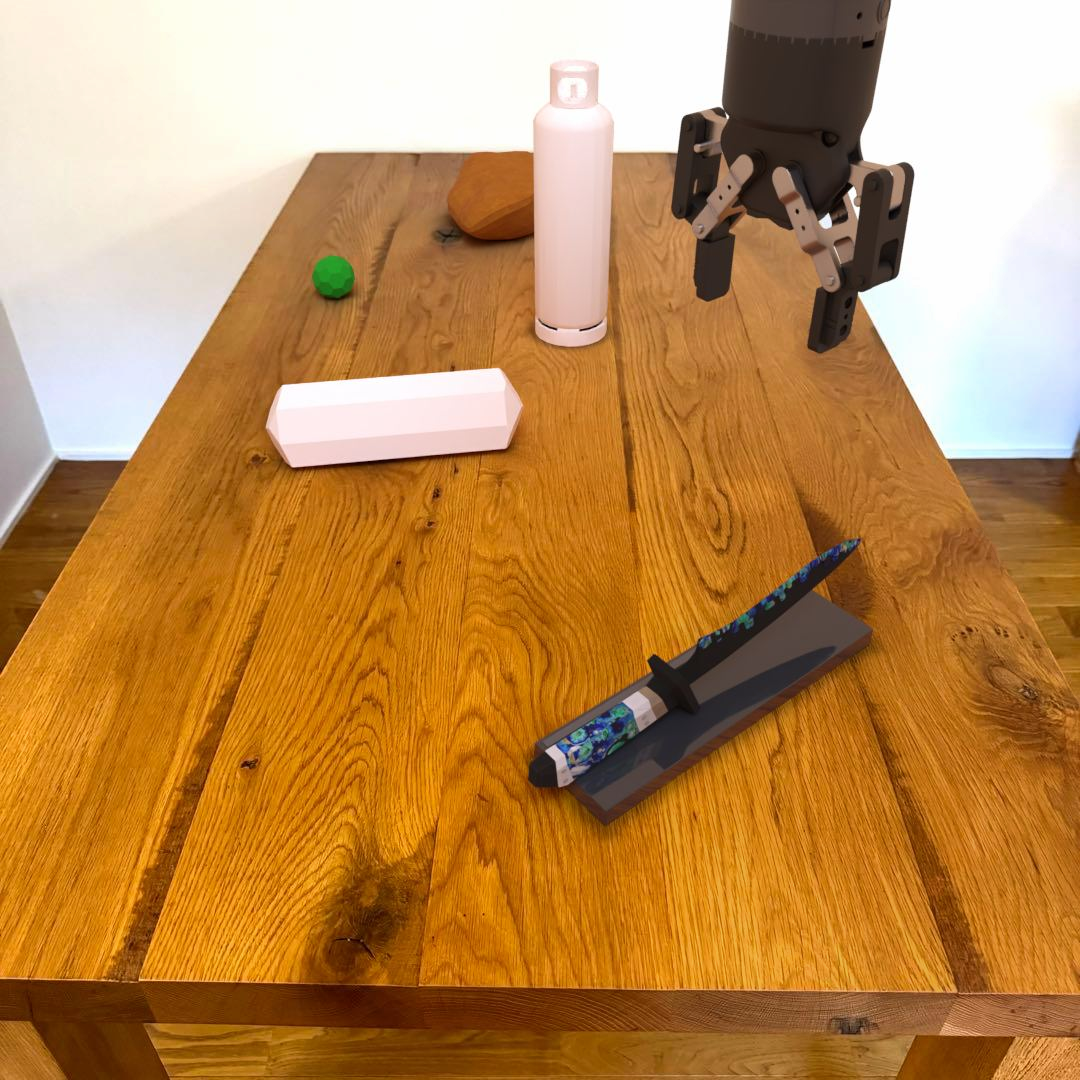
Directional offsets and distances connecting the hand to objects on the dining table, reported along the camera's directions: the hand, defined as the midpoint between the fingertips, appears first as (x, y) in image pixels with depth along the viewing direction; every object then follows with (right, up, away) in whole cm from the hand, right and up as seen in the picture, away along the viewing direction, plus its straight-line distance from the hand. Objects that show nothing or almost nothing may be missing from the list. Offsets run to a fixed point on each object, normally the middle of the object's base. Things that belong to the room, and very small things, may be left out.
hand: (765, 321), depth 60 cm
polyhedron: (-38, +17, +65) cm, 77 cm away
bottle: (-10, +11, +58) cm, 59 cm away
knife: (-1, -22, +11) cm, 24 cm away
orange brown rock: (-20, +30, +83) cm, 90 cm away
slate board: (-1, -24, +12) cm, 27 cm away
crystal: (-27, -4, +39) cm, 47 cm away
